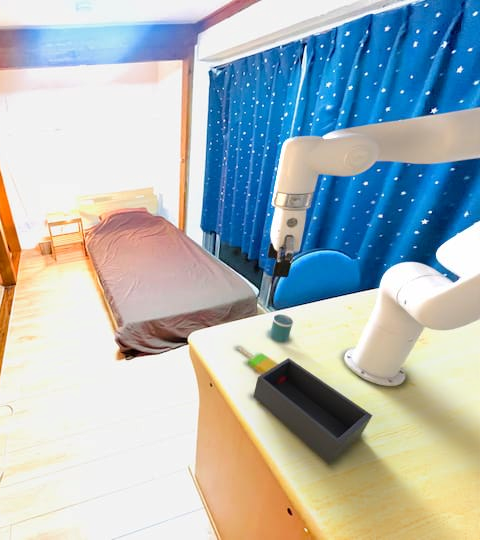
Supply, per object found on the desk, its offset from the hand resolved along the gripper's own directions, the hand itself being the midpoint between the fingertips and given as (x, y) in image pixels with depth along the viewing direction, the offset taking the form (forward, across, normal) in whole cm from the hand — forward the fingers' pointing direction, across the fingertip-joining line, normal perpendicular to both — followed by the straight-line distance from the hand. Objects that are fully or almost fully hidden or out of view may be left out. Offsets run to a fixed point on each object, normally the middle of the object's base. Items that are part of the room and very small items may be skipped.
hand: (276, 266), depth 69 cm
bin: (+30, -18, -8) cm, 36 cm away
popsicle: (+31, -4, 0) cm, 31 cm away
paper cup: (+30, +10, -7) cm, 33 cm away
